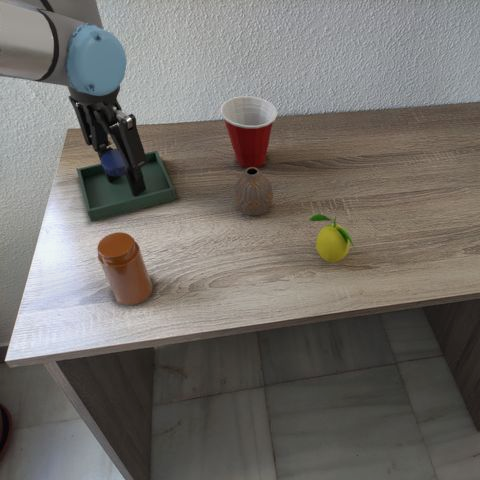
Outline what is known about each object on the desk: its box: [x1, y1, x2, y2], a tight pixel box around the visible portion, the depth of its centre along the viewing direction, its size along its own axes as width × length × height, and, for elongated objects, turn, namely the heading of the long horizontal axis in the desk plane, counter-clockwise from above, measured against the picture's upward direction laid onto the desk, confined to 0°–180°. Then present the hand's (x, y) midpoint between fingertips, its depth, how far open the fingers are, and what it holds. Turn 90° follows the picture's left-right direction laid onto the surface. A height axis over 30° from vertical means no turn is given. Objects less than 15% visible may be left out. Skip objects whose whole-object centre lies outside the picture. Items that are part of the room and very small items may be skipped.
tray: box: [76, 150, 178, 223], centre depth 89 cm, size 15×13×2 cm
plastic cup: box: [219, 95, 278, 169], centre depth 93 cm, size 11×11×12 cm
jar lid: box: [99, 148, 126, 177], centre depth 85 cm, size 6×6×2 cm
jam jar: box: [97, 231, 154, 306], centre depth 69 cm, size 6×6×11 cm
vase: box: [233, 167, 274, 217], centre depth 84 cm, size 7×7×9 cm
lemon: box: [308, 213, 355, 263], centre depth 76 cm, size 7×6×10 cm
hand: (127, 185), depth 89 cm, fingers closed on jar lid, 6 cm apart
